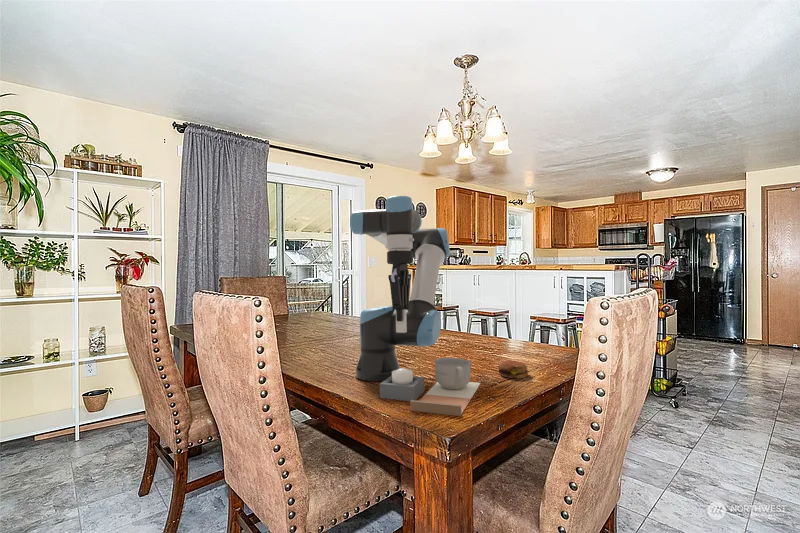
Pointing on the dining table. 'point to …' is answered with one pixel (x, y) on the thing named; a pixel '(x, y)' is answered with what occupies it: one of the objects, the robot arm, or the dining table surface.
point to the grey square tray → (402, 389)
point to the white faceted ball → (402, 376)
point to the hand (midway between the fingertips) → (401, 332)
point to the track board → (445, 400)
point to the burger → (513, 369)
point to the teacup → (452, 372)
